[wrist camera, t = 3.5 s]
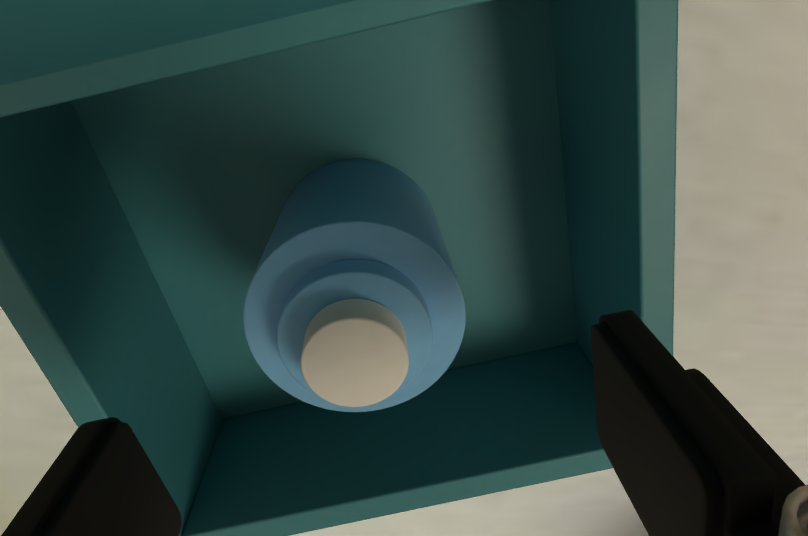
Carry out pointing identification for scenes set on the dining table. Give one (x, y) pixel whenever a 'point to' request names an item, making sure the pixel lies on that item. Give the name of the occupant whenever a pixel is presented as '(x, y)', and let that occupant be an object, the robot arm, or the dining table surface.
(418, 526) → the dining table surface
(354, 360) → the water bottle
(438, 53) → the teal hollow box
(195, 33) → the lid
